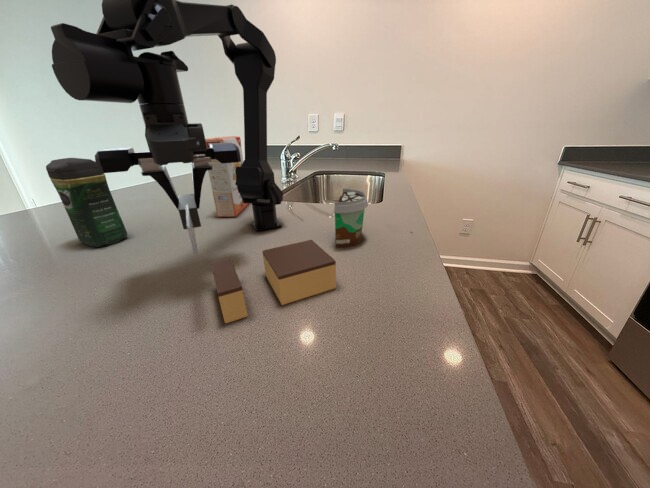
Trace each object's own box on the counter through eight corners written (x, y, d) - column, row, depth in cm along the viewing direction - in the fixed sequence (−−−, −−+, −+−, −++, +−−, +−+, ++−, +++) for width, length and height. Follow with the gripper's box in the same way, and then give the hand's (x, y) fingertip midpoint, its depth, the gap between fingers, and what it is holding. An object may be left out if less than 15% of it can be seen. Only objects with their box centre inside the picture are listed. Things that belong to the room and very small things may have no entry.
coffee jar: (135, 237, 62) (104, 156, 54) (96, 250, 56) (56, 161, 48) (113, 231, 66) (81, 155, 58) (75, 243, 60) (34, 159, 52)
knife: (182, 211, 46) (177, 191, 44) (197, 209, 47) (192, 190, 45) (185, 257, 30) (176, 228, 28) (207, 252, 31) (200, 224, 29)
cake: (265, 276, 45) (262, 250, 43) (312, 263, 48) (311, 239, 46) (281, 305, 37) (278, 276, 35) (336, 288, 41) (335, 260, 39)
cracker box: (237, 217, 73) (223, 138, 64) (216, 218, 73) (199, 138, 64) (251, 203, 86) (240, 135, 77) (233, 203, 86) (220, 136, 77)
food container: (364, 251, 52) (366, 204, 48) (334, 249, 53) (334, 203, 49) (367, 229, 63) (369, 188, 59) (342, 227, 64) (343, 187, 60)
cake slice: (216, 289, 42) (210, 262, 39) (235, 284, 43) (230, 257, 41) (225, 324, 34) (217, 293, 32) (247, 316, 35) (241, 286, 33)
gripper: (55, 99, 27) (111, 237, 33) (239, 101, 34) (255, 213, 41) (86, 106, 36) (126, 213, 42) (226, 106, 43) (241, 197, 50)
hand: (189, 209), depth 44 cm, fingers closed on knife, 2 cm apart
